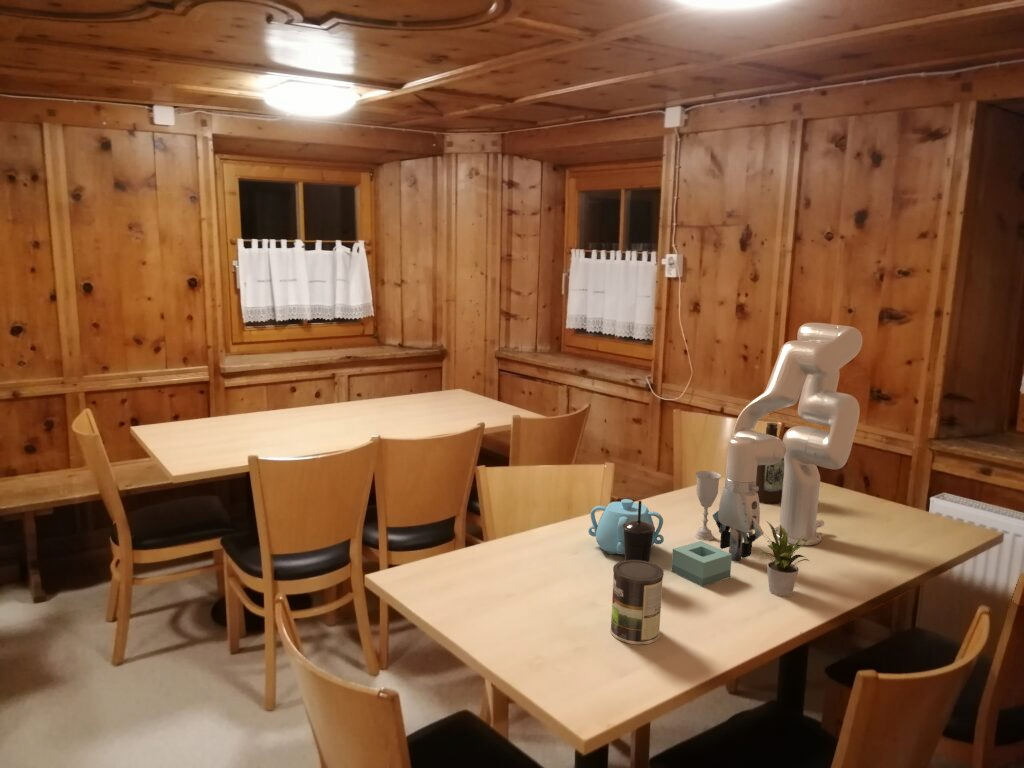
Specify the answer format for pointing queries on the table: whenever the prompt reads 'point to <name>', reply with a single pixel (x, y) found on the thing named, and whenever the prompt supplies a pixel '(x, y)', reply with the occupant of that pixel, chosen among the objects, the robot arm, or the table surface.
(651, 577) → the coffee can
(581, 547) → the table surface
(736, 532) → the pin
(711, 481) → the chalice
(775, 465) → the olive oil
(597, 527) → the decorative pot
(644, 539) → the drinking cup
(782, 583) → the house plant
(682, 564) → the bore block
